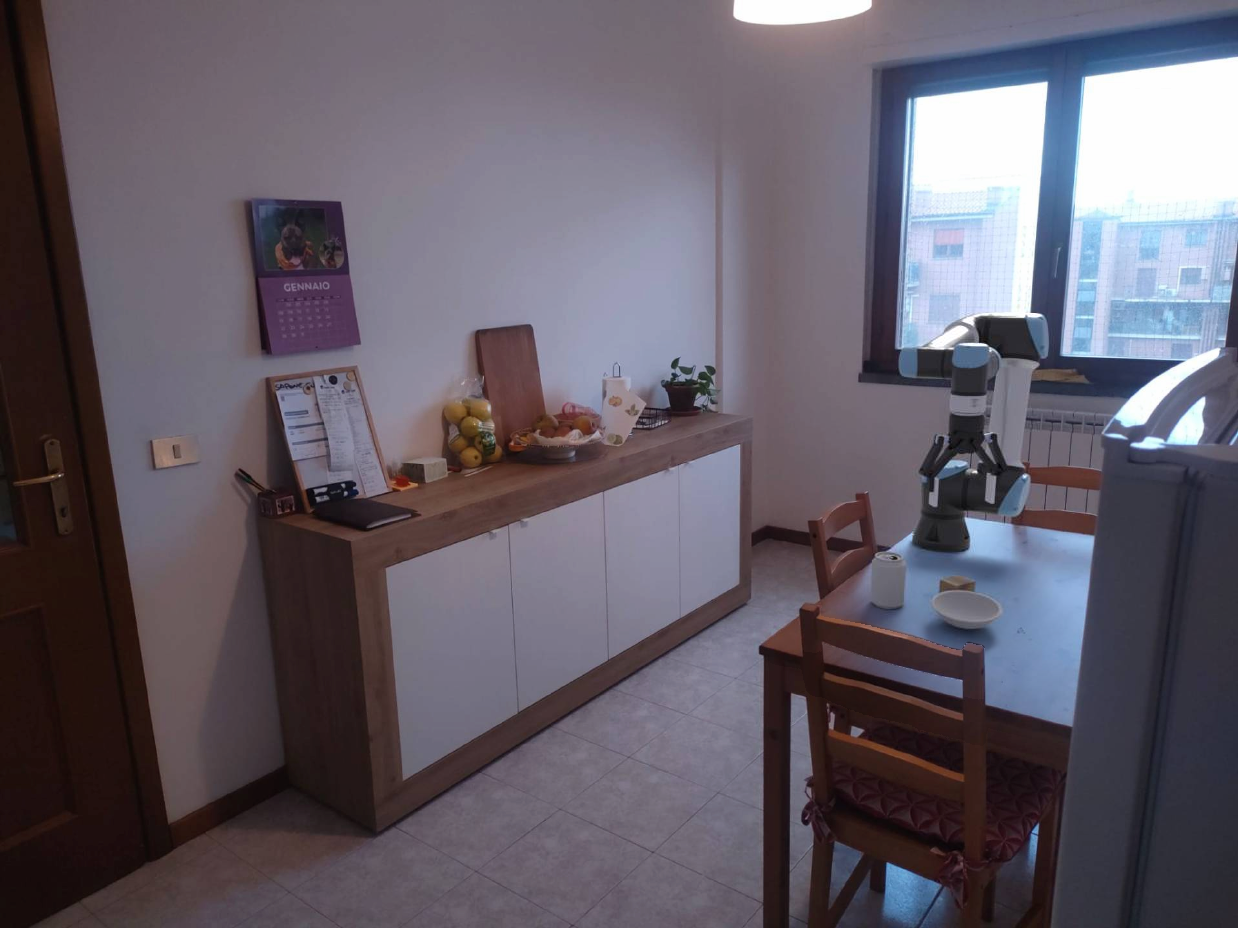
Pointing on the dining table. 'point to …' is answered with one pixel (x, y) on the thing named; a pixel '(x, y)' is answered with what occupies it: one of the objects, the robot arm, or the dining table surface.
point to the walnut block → (956, 584)
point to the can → (888, 580)
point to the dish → (966, 608)
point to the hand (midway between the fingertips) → (961, 503)
